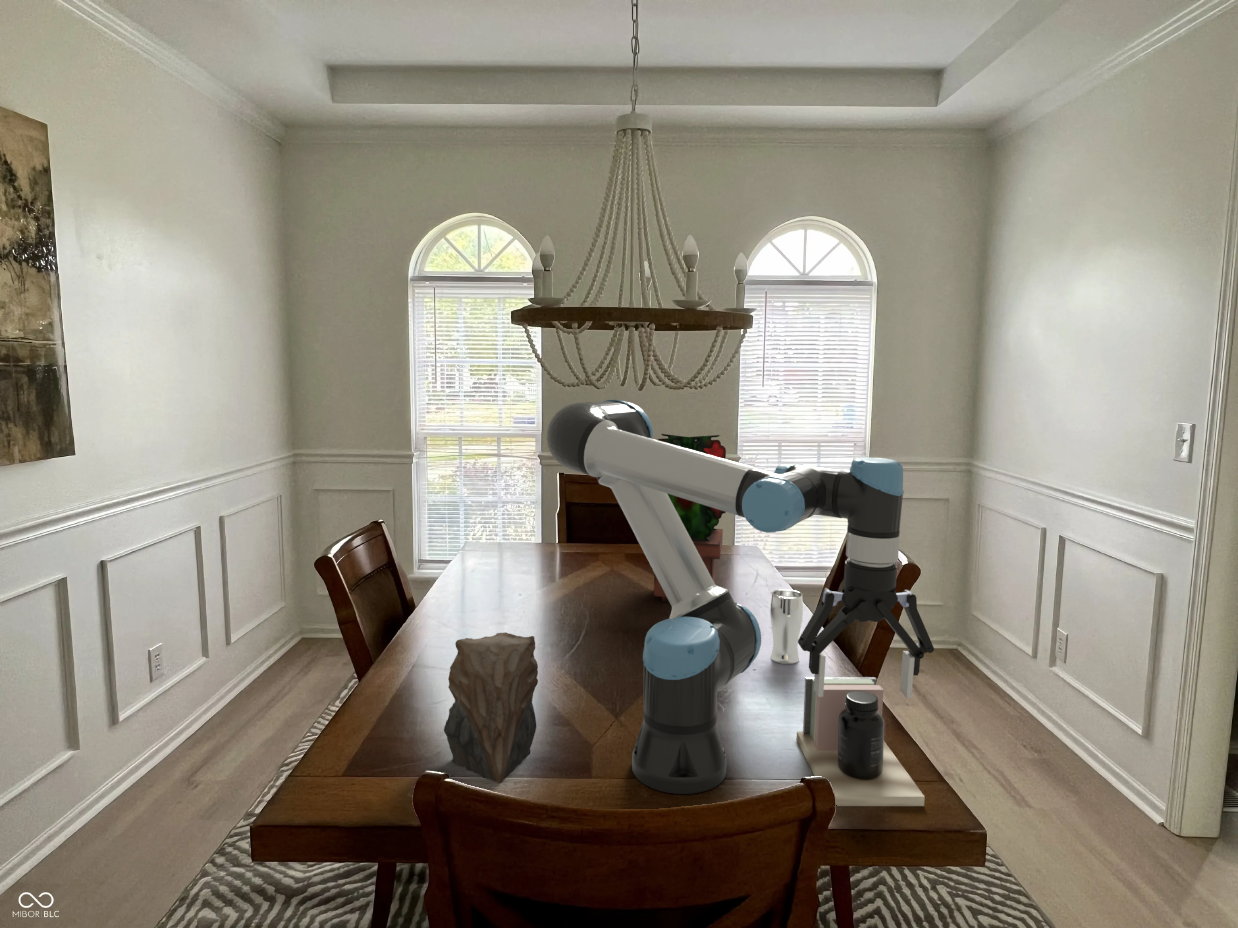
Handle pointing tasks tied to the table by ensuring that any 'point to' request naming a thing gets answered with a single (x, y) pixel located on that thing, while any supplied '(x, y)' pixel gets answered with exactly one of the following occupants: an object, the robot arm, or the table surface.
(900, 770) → the shelf board
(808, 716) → the bookend
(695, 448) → the potted plant
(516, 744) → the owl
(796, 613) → the beer glass
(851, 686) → the book row
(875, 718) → the supplement bottle
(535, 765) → the table surface
